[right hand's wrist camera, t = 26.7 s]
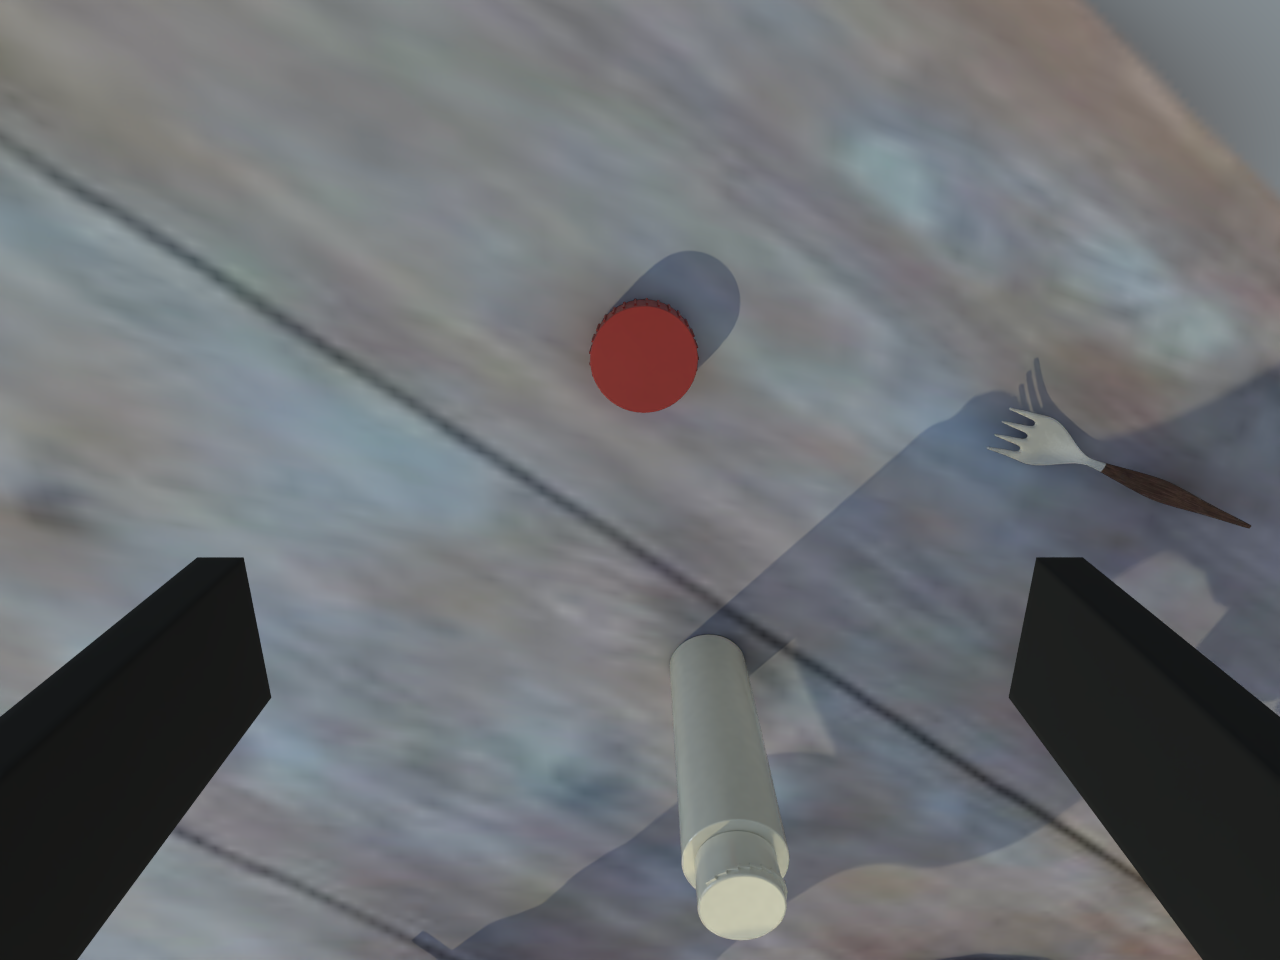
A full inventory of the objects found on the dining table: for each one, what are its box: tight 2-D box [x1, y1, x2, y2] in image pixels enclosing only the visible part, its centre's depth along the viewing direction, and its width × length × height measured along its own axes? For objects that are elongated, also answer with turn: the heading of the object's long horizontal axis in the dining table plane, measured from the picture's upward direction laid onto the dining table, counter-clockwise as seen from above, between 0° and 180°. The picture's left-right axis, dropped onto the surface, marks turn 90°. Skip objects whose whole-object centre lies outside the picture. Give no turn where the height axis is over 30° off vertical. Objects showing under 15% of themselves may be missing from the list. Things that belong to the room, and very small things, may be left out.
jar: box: [669, 635, 789, 940], centre depth 37 cm, size 4×4×16 cm
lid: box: [589, 298, 699, 413], centre depth 37 cm, size 5×5×2 cm
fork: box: [987, 408, 1251, 528], centre depth 39 cm, size 3×16×2 cm, turn 69°
